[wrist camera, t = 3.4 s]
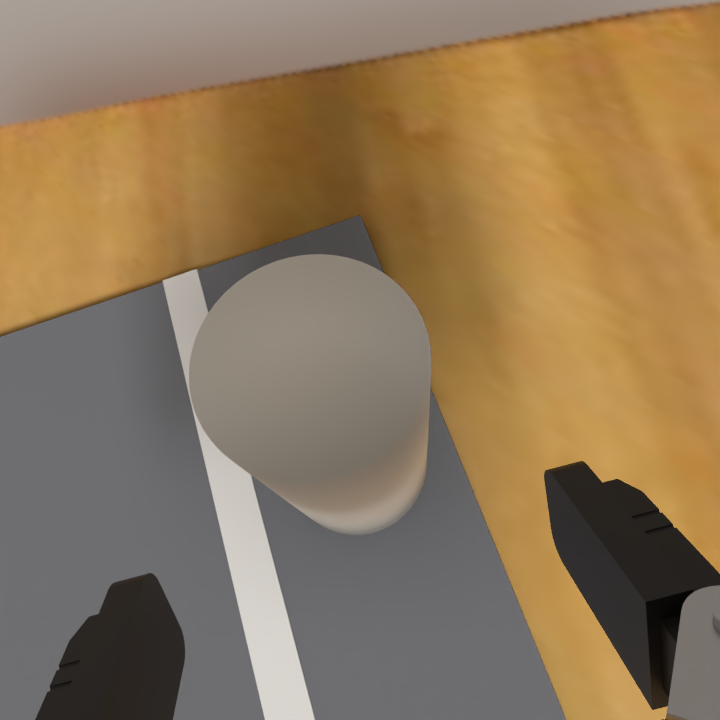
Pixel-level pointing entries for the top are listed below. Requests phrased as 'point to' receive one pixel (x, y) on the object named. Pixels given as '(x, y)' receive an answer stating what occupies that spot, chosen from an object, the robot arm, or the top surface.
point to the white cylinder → (319, 388)
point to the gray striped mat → (236, 536)
